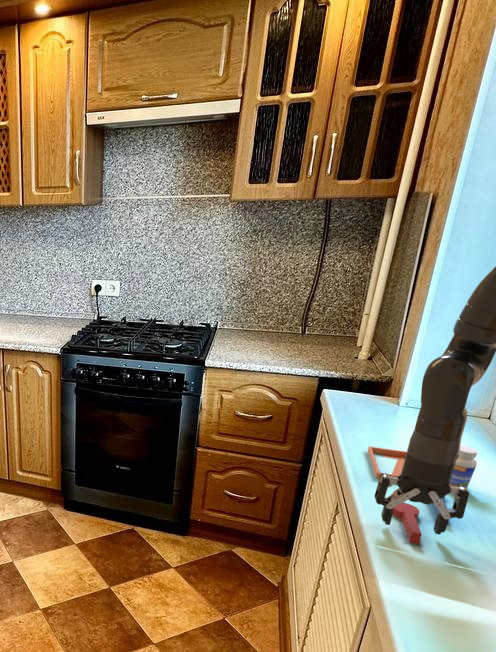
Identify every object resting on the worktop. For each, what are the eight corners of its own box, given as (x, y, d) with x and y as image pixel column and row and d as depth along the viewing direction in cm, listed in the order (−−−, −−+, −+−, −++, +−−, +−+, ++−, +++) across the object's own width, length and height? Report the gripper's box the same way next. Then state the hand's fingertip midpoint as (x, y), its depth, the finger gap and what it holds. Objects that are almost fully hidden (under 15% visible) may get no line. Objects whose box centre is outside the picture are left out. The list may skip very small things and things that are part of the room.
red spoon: (388, 507, 115) (390, 497, 114) (415, 512, 113) (417, 502, 112) (399, 540, 104) (401, 530, 103) (429, 546, 102) (432, 536, 101)
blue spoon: (415, 490, 121) (417, 481, 121) (440, 494, 119) (443, 485, 119) (428, 519, 110) (431, 510, 109) (456, 525, 108) (459, 515, 107)
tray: (367, 453, 140) (368, 446, 139) (413, 459, 135) (415, 452, 135) (375, 480, 126) (377, 472, 125) (427, 488, 122) (429, 481, 121)
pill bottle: (444, 490, 121) (458, 453, 117) (432, 478, 125) (446, 442, 122) (471, 494, 119) (486, 456, 116) (459, 481, 124) (473, 445, 121)
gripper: (472, 452, 100) (450, 525, 106) (383, 440, 106) (366, 510, 112) (485, 469, 94) (460, 546, 99) (390, 456, 100) (371, 529, 105)
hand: (411, 527), depth 105 cm, fingers open, 8 cm apart
